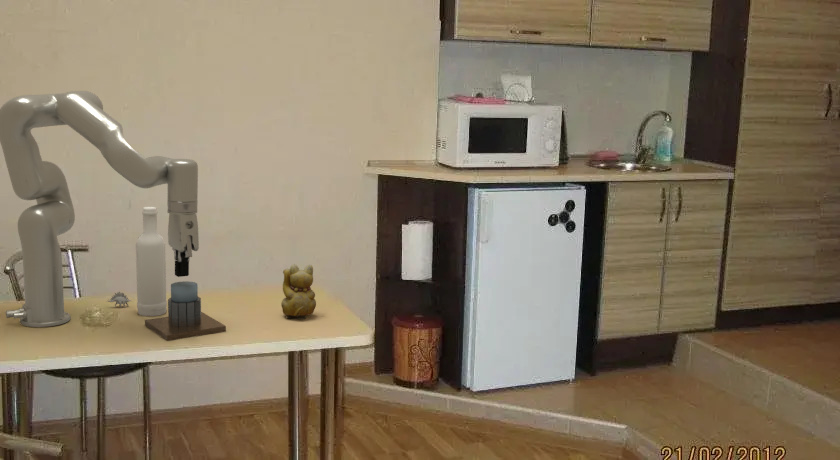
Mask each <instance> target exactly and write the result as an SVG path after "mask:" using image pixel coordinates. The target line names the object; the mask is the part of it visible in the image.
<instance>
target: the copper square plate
mask: <svg viewBox="0 0 840 460" xmlns="http://www.w3.org/2000/svg"><path fill="white" fill-rule="evenodd" d="M167 310H168V311H167V313H168V316H164V317H157V318H149V319H144V326H145V327H147V328H148V329H149V330H150V331H152V332H154V333H155V334H156V335H158V336H159V337H160V338H161V339H164V341H167V342H170V341H175V340H180V339H181V340H182V339H187V338H192V337H193V338H194V337H201V336H206V335H212V334H218V333H223V332H224V333H225V332H227V328H226V327H227V326H226V325H225V324H223V322H222V323H221V322H220V321H219V320H216V319H215V318H213V317H211V316H209V315H208V314H206V313H205V312H203V311H202V298H201V297H200V296H198V299H197V300H196V301H193V302H185V303H180V302H173V301H171V297H169V298H168V300H167Z"/></svg>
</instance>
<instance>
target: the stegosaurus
mask: <svg viewBox="0 0 840 460" xmlns="http://www.w3.org/2000/svg"><path fill="white" fill-rule="evenodd" d="M106 302H107V303H114V307H115V308H116V307H117V305H119V306H120V309H123V307H124V309H125V308H126V306H127V307H128V306H129V304H128V303H129V302H132V300H131V299H130V298H128V296H127V295H126V294H125V293H123V292H120V291H118V292H117V293H116V292H114V294H113V295H112V296H111V298H110V299H107V301H106ZM122 305H123V307H122Z"/></svg>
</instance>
